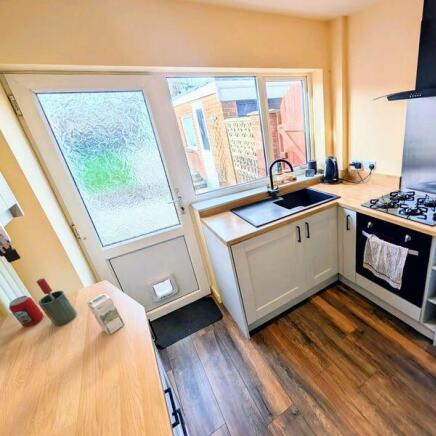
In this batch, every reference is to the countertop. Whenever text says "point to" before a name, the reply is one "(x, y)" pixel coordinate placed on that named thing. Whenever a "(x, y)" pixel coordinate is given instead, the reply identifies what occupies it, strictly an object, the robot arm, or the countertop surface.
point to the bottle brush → (45, 287)
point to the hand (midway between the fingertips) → (10, 257)
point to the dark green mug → (58, 308)
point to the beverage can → (26, 311)
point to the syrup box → (106, 313)
